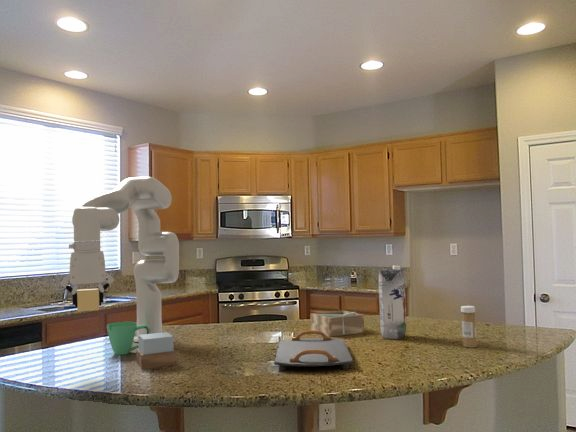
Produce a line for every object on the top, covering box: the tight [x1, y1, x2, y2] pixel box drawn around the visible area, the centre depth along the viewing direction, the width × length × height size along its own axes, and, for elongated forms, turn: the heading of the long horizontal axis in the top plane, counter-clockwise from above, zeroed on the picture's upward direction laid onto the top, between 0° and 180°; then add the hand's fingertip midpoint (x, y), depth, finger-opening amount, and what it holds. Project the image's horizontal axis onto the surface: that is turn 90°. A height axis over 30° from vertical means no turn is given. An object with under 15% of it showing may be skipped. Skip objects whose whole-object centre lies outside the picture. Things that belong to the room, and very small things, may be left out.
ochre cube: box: [76, 288, 100, 313], centre depth 147 cm, size 6×6×6 cm
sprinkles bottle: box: [460, 305, 478, 348], centre depth 163 cm, size 5×5×14 cm
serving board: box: [273, 329, 354, 372], centre depth 153 cm, size 39×23×6 cm, turn 178°
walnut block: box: [136, 348, 176, 370], centre depth 150 cm, size 10×10×4 cm
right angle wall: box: [316, 311, 357, 334], centre depth 197 cm, size 12×12×8 cm
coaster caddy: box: [309, 310, 365, 337], centre depth 197 cm, size 16×16×7 cm
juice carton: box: [378, 265, 407, 340], centre depth 183 cm, size 9×10×27 cm
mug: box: [106, 321, 150, 356], centre depth 167 cm, size 15×10×10 cm
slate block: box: [138, 331, 175, 355], centre depth 151 cm, size 9×9×4 cm
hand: (88, 305), depth 147 cm, fingers closed on ochre cube, 6 cm apart
